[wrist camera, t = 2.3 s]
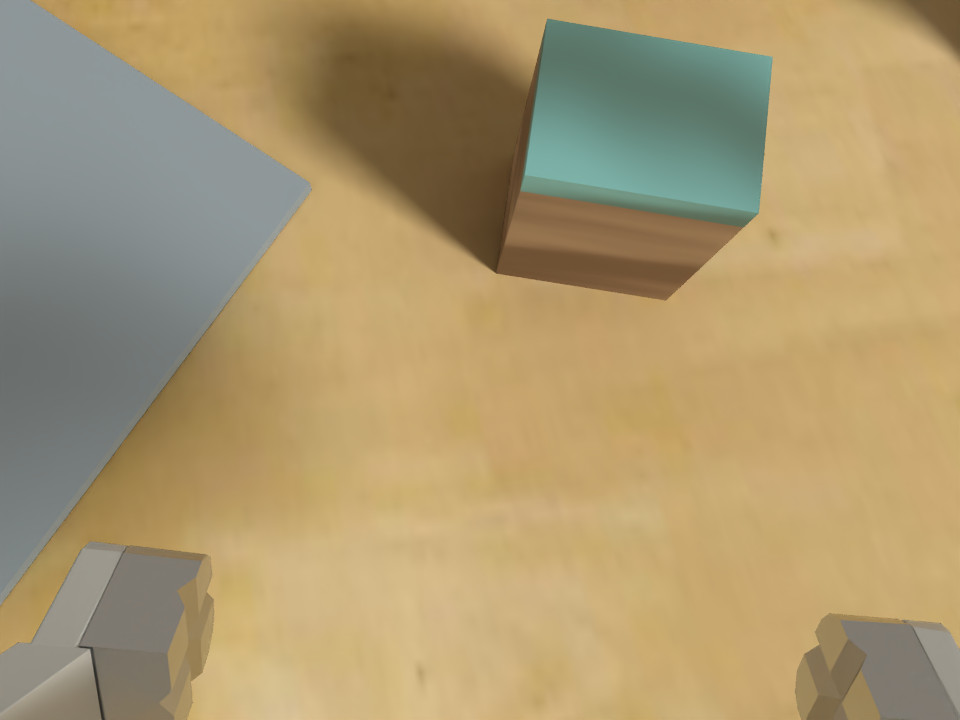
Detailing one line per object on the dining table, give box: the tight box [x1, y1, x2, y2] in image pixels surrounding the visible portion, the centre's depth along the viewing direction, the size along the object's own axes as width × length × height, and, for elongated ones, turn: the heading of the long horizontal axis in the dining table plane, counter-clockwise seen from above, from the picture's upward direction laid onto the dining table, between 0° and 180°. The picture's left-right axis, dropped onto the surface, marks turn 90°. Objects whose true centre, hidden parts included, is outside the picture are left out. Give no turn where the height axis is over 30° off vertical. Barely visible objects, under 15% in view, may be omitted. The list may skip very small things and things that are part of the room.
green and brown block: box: [496, 19, 773, 300], centre depth 25 cm, size 4×6×8 cm
